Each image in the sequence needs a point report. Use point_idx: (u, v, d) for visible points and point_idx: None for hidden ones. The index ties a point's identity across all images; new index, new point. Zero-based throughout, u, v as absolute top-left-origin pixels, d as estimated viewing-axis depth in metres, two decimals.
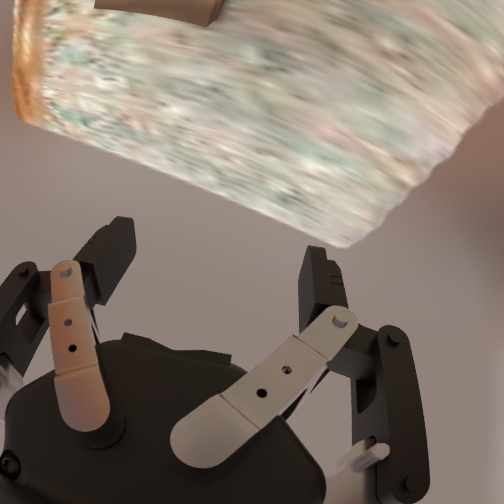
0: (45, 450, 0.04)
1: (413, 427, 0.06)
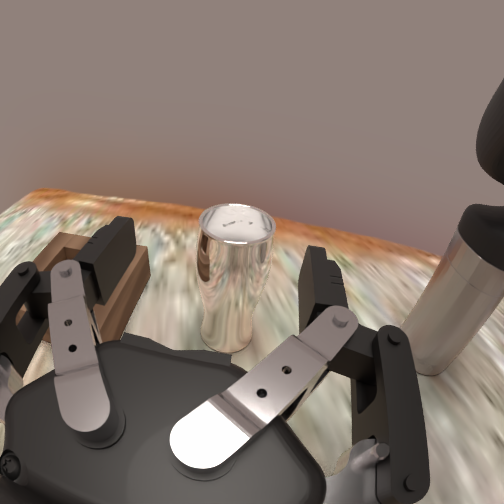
0: (45, 450, 0.04)
1: (413, 427, 0.06)
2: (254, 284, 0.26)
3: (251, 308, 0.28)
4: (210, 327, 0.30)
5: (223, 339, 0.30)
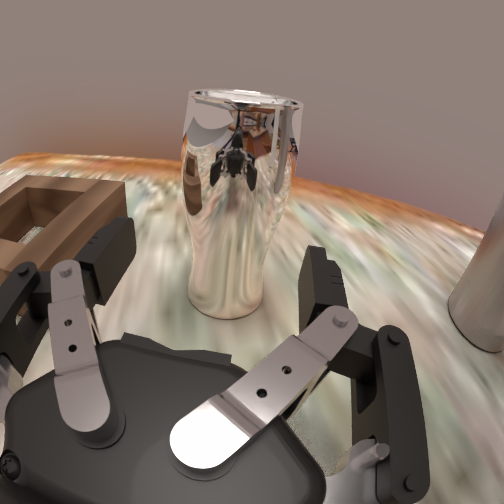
0: (45, 450, 0.04)
1: (413, 428, 0.06)
2: (272, 186, 0.16)
3: (264, 238, 0.18)
4: (200, 276, 0.20)
5: (220, 295, 0.20)
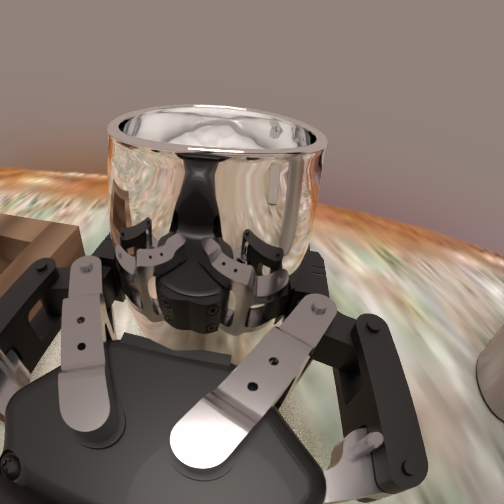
0: (40, 452, 0.04)
1: (404, 413, 0.06)
2: (264, 302, 0.09)
3: None
4: None
5: None
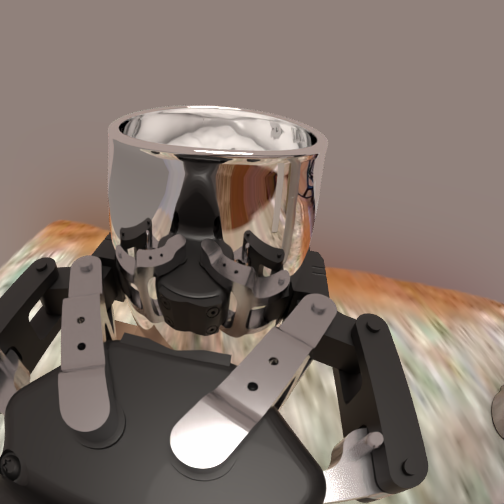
0: (40, 452, 0.04)
1: (403, 413, 0.06)
2: (265, 304, 0.09)
3: None
4: None
5: None
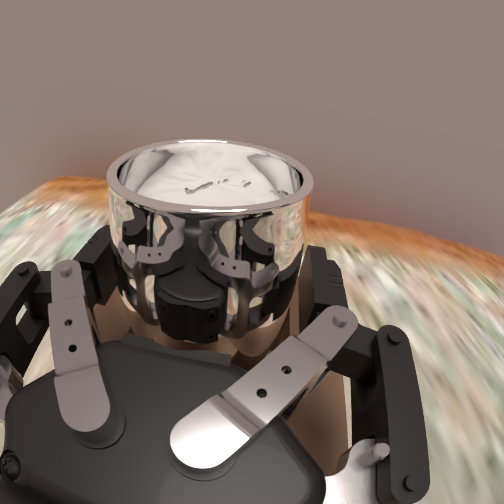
0: (45, 450, 0.04)
1: (413, 427, 0.06)
2: (257, 332, 0.09)
3: None
4: None
5: None
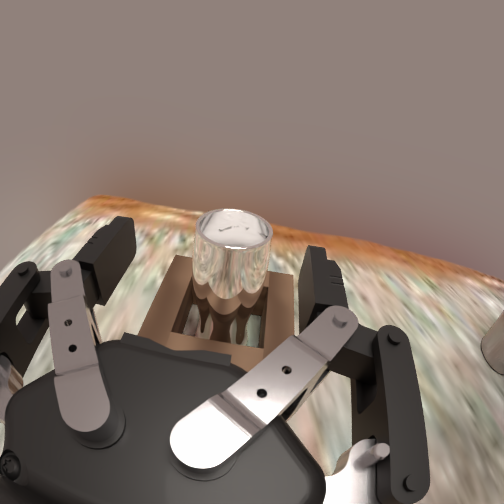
0: (45, 450, 0.04)
1: (413, 427, 0.06)
2: (251, 289, 0.25)
3: (247, 314, 0.28)
4: (205, 333, 0.30)
5: None
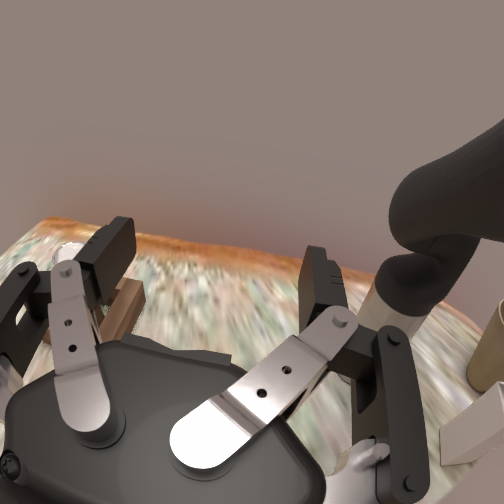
0: (45, 450, 0.04)
1: (413, 427, 0.06)
2: None
3: None
4: None
5: None
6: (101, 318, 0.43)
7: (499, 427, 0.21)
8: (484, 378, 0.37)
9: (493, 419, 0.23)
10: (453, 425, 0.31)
